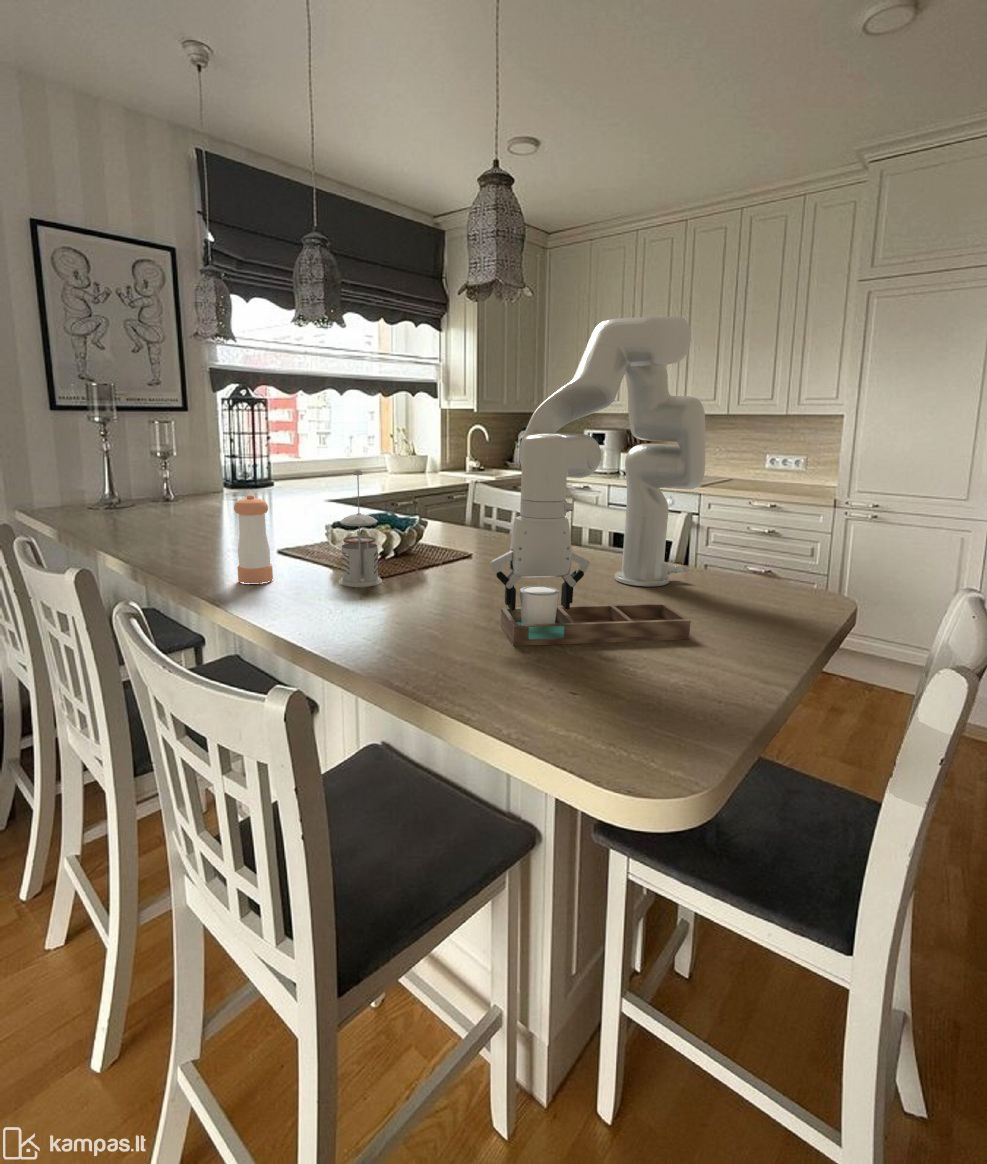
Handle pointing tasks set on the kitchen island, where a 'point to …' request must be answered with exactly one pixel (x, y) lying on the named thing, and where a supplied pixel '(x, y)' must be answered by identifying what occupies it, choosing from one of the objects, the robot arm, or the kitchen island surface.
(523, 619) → the white cup
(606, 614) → the rack
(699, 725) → the kitchen island surface
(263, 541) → the pepper shaker
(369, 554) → the french press
